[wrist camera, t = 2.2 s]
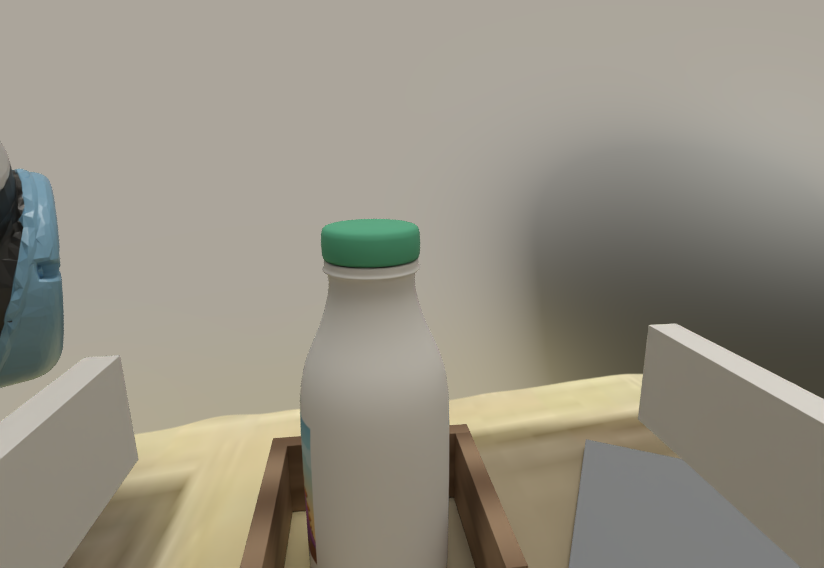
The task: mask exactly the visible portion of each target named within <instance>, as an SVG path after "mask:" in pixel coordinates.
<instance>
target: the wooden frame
mask: <svg viewBox="0 0 824 568" xmlns="http://www.w3.org/2000/svg"><path fill="white" fill-rule="evenodd" d="M449 497H454V498H455V502H456V505H457V508H458V511H459V515H460V518H461V521H462V524H463V528H464V531H465V534H466V538H467V541H468V544H469V547H470V551H471V554H472V557H473V560H474V564H475V567H476V568H528V565H527V563H526V561H525V558H524V556H523V554H522V551H521V549H520V547H519V544H518V542H517V540H516V537H515V535H514V533H513V530H512V528H511V526H510V524H509V521H508V519H507V517H506V514H505V512H504V510H503V507H502V505H501V503H500V500H499V498H498V496H497V493H496V491H495V489H494V486H493V484H492V482H491V480H490V477H489V475H488V473H487V470H486V468H485V466H484V463H483V461H482V459H481V456H480V454H479V452H478V449H477V447H476V445H475V443H474V440H473V438H472V436H471V433H470V431H469V429H468V426H467V424H462V425H449ZM304 510H306V503H305V489H304V474H303V458H302V442H301V436H299V437H285V438H273V441H272V445H271V449H270V453H269V457H268V461H267V465H266V469H265V472H264V476H263V480H262V484H261V488H260V492H259V496H258V499H257V503H256V507H255V511H254V515H253V519H252V523H251V527H250V530H249V534H248V538H247V542H246V546H245V550H244V554H243V558H242V561H241V565H240V568H284V563H285V557H286V550H287V544H288V537H289V531H290V524H291V518H292V512H293V511H304Z"/></svg>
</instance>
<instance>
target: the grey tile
mask: <svg viewBox="0 0 824 568" xmlns="http://www.w3.org/2000/svg"><path fill="white" fill-rule="evenodd" d="M569 568H801V567H800V566H799V565H798V564H797V563H796V562H794V561H793V560H792V559H791V558H790V557H789V556H788V555H787V554H786V553H785V552H783V551H782V550H781V549H780V548H779V547H778V546H777V545H776V544H775V543H774V542H772V541H771V540H770V539H769V538H768V537H767V536H766V535H765V534H764V533H763V532H761V531H760V530H759V529H758V528H757V527H756V526H755V525H754V524H753V523H752V522H751V521H749V520H748V519H747V518H746V517H745V516H744V515H743V514H742V513H741V512H740V511H738V510H737V509H736V508H735V507H734V506H733V505H732V504H731V503H730V502H729V501H727V500H726V499H725V498H724V497H723V496H722V495H721V494H720V493H719V492H718V491H716V490H715V489H714V488H713V487H712V486H711V485H710V484H709V483H708V482H707V481H705V480H704V479H703V478H702V477H701V476H700V475H699V474H698V473H697V472H696V471H694V470H693V469H692V468H691V467H690V466H689V465H688V464H687V463H686V462H685V461H683V460H682V459H678V458H673V457H668V456H664V455H659V454H654V453H649V452H644V451H639V450H635V449H630V448H625V447H620V446H615V445H610V444H606V443H601V442H596V441H591V440H586V443H585V450H584V458H583V465H582V473H581V480H580V488H579V495H578V503H577V510H576V517H575V525H574V532H573V540H572V547H571V555H570V562H569Z"/></svg>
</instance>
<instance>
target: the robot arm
mask: <svg viewBox="0 0 824 568" xmlns="http://www.w3.org/2000/svg"><path fill="white" fill-rule="evenodd" d="M59 267H60V257H59V236H58V225H57V217H56V210H55V202H54V196H53V191H52V187H51V184H50V181H49V180H48V178H47V177H45V176H44V175H42V174H39V173H35V172H28V171H27V170H23V169H15V170H12V169H11V166H10V161H9V158H8V155H7V152H6V150H5V148H4V147H3V145H2V143H1V142H0V388H2V387H6V386H9V385H13V384H17V383H21V382H25V381H29V380H32V379H35V378H38V377H40V376H42V375H44V374H46V373H47V372H49V371H50V370H51V369H52V368H53V367H54V366H55V365H56V363H57V362H58V360H59V358H60V356H61V353H62V349H63V335H64V320H63V319H64V315H63V292H62V279H61V273H60V271H59ZM638 420H640V421H641V422H642V423H643V424H644V425H645V426H646V427H647V428H648V429H649V430H650V431H652V432H653V433H654V434H655V435H656V436H657V437H658V438H659V439H660V440H661V441H663V442H664V443H665V444H666V445H667V446H668V447H669V448H670V449H671V450H672V451H674V452H675V453H676V454H677V455H678V456H679V457H680V458H681V459H682V460H683V461H685V462H686V463H687V464H688V465H689V466H690V467H691V468H692V469H693V470H694V471H696V472H697V473H698V474H699V475H700V476H701V477H702V478H703V479H704V480H705V481H707V482H708V483H709V484H710V485H711V486H712V487H713V488H714V489H715V490H716V491H718V492H719V493H720V494H721V495H722V496H723V497H724V498H725V499H726V500H727V501H729V502H730V503H731V504H732V505H733V506H734V507H735V508H736V509H737V510H738V511H740V512H741V513H742V514H743V515H744V516H745V517H746V518H747V519H748V520H749V521H751V522H752V523H753V524H754V525H755V526H756V527H757V528H758V529H759V530H760V531H761V532H763V533H764V534H765V535H766V536H767V537H768V538H769V539H770V540H771V541H772V542H774V543H775V544H776V545H777V546H778V547H779V548H780V549H781V550H782V551H783V552H785V553H786V554H787V555H788V556H789V557H790V558H791V559H792V560H793V561H794V562H796V563H797V564H798V565H799V566H800V567H801V568H824V399H822V398H820V397H818V396H816V395H814V394H812V393H810V392H808V391H806V390H804V389H802V388H801V387H799V386H797V385H795V384H793V383H791V382H789V381H787V380H785V379H783V378H781V377H779V376H777V375H775V374H773V373H771V372H769V371H767V370H765V369H764V368H762V367H759V366H757V365H756V364H754V363H752V362H749V361H748V360H746V359H744V358H742V357H740V356H738V355H736V354H734V353H732V352H730V351H728V350H726V349H724V348H722V347H721V346H719V345H717V344H714V343H713V342H711V341H709V340H707V339H705V338H703V337H701V336H699V335H697V334H695V333H693V332H691V331H689V330H687V329H685V328H683V327H681V326H680V325H677V324H661V325H649V328H648V337H647V345H646V354H645V363H644V371H643V380H642V388H641V397H640V405H639V414H638ZM137 461H138V454H137V449H136V443H135V437H134V432H133V426H132V421H131V415H130V409H129V404H128V398H127V392H126V387H125V381H124V375H123V370H122V364H121V359H120V356H102V357H85V358H83V359H82V360H81V361H79V362H78V363H77V364H75V365H74V366H73V367H71V368H70V369H69V370H68V371H66V372H65V373H64V374H62V375H61V376H60V377H58V378H57V379H56V380H54V381H53V382H52V383H51V384H49V385H48V386H47V387H45V388H44V389H42V390H41V391H40V392H39V393H37V394H36V395H35V396H33V397H32V398H31V399H29V400H28V401H27V402H25V403H24V404H23V405H21V406H20V407H19V408H17V409H16V410H15V411H14V412H12V413H11V414H10V415H8V416H7V417H6V418H4V419H3V420H2V421H0V568H63V567H64V565H65V564H66V563H67V561H68V560H69V558H70V557H71V555H72V554H73V553H74V551H75V550H76V548H77V547H78V545H79V544H80V542H81V541H82V540H83V538H84V537H85V535H86V534H87V532H88V531H89V530H90V528H91V527H92V525H93V524H94V522H95V521H96V520H97V518H98V517H99V515H100V514H101V512H102V511H103V509H104V508H105V507H106V505H107V504H108V502H109V501H110V499H111V498H112V497H113V495H114V494H115V492H116V491H117V489H118V488H119V486H120V485H121V484H122V482H123V481H124V479H125V478H126V476H127V475H128V474H129V472H130V471H131V469H132V468H133V466H134V465H135V464H136V462H137Z"/></svg>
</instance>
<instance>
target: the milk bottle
mask: <svg viewBox="0 0 824 568" xmlns="http://www.w3.org/2000/svg"><path fill="white" fill-rule="evenodd" d="M321 247H322V256H323V259H324V267H323V272H324V273H325V274H327V275H328V279H329V289H328V297H327V301H326V305H325V310H324V313H323V317H322V320H321V323H320V326H319V328H318V331H317V333H316V336H315V338H314V340H313V343H312V345H311V347H310V350H309V353H308V355H307V358H306V362H305V366H304V369H303V376H302V381H301V394H300V419H301V442H302V458H303V474H304V489H305V503H306V516H307V530H308V543H309V556H310V568H447V554H448V505H449V396H448V395H449V394H448V386H447V377H446V372H445V368H444V364H443V360H442V357H441V354H440V352H439V349H438V347H437V344H436V342H435V340H434V338H433V336H432V334H431V332H430V330H429V328H428V326H427V323H426V321H425V318H424V316H423V313H422V310H421V307H420V304H419V301H418V297H417V293H416V289H415V273H416V272H417V271H418V270H419V268H420V265H419V264H418V257H419V254H420V232H419V229H418V227H417V226H416V225H415V224H413V223H410V222H406V221H400V220H389V219H359V220H347V221H340V222H335V223H332V224H328V225H326V226H325V227H324V228H323V229H322V233H321Z"/></svg>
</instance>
